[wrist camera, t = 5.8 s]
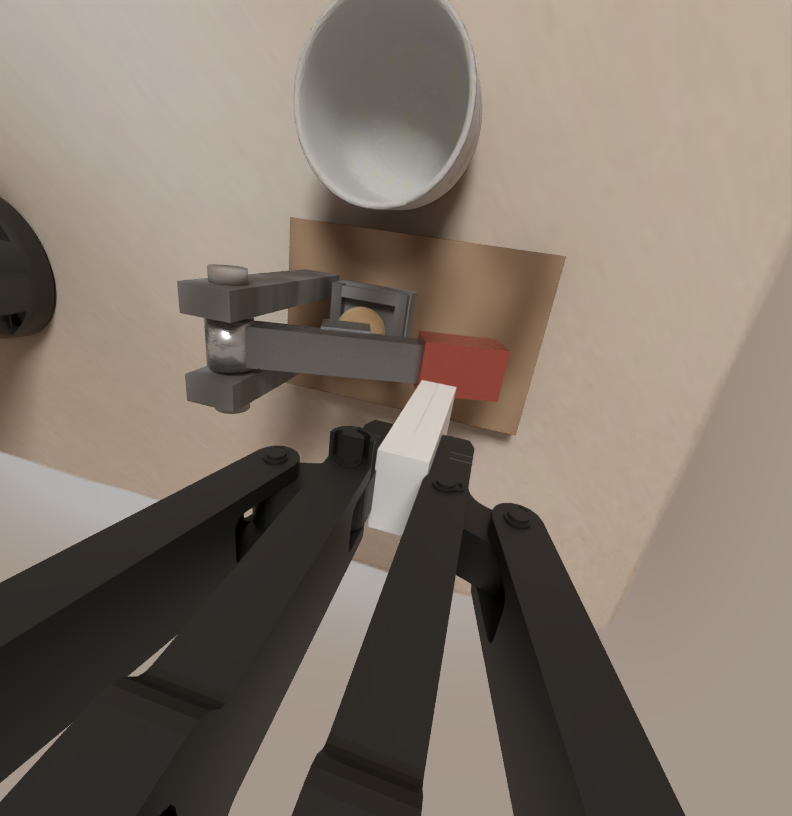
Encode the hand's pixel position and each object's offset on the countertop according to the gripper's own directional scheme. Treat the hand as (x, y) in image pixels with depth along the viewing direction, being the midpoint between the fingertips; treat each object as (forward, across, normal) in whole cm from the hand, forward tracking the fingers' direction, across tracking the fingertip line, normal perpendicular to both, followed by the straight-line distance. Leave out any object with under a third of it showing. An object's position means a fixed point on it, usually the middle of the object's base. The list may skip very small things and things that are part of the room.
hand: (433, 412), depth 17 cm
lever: (+9, -7, 0) cm, 11 cm away
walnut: (+12, -8, 0) cm, 14 cm away
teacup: (+18, -7, +15) cm, 25 cm away
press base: (+18, -5, 0) cm, 18 cm away
